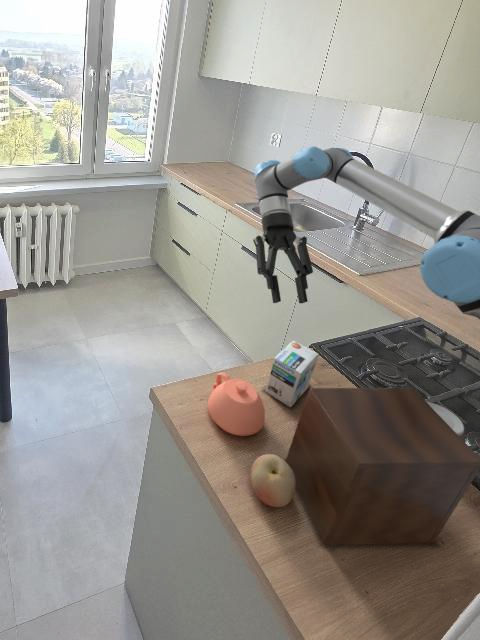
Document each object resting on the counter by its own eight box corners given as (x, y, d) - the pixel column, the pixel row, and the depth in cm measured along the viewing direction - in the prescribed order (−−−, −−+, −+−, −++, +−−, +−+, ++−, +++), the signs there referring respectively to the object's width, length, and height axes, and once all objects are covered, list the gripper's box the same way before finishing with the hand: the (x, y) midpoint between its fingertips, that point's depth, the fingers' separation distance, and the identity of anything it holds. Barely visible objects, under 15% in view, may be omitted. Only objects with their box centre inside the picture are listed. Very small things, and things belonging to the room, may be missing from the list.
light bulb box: (290, 408, 99) (301, 374, 94) (263, 391, 103) (273, 358, 99) (309, 386, 105) (320, 353, 101) (283, 371, 110) (293, 339, 106)
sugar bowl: (229, 449, 88) (237, 415, 84) (191, 400, 100) (197, 367, 96) (273, 432, 92) (284, 398, 88) (232, 387, 104) (240, 355, 100)
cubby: (377, 463, 87) (413, 387, 78) (433, 543, 73) (484, 462, 64) (284, 464, 86) (309, 387, 77) (323, 545, 72) (360, 463, 63)
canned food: (406, 432, 94) (424, 396, 90) (449, 459, 88) (470, 421, 84) (392, 449, 90) (410, 412, 85) (436, 478, 84) (458, 440, 80)
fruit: (237, 490, 80) (245, 462, 77) (260, 466, 85) (268, 439, 82) (276, 525, 75) (287, 496, 71) (298, 497, 79) (308, 469, 76)
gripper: (303, 222, 116) (318, 305, 108) (236, 220, 115) (246, 304, 107) (318, 211, 109) (336, 299, 101) (246, 210, 108) (259, 299, 100)
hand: (290, 302), depth 104 cm, fingers open, 6 cm apart
